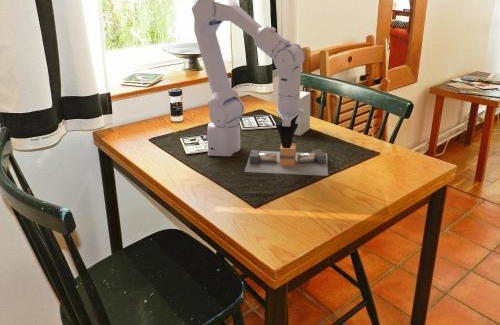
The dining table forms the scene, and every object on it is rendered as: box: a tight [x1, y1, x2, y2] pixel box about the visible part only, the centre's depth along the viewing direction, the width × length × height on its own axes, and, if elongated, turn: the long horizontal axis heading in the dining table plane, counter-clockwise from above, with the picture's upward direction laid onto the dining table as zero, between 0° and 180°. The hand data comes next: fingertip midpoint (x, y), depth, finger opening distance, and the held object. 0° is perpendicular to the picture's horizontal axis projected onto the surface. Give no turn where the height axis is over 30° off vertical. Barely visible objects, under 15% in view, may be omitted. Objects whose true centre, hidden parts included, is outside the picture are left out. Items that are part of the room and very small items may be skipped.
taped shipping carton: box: [279, 142, 297, 166], centre depth 124 cm, size 4×4×5 cm
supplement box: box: [280, 90, 312, 136], centre depth 147 cm, size 7×7×13 cm
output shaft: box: [297, 148, 326, 164], centre depth 125 cm, size 7×4×3 cm, turn 102°
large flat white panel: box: [243, 150, 329, 177], centre depth 125 cm, size 22×14×1 cm, turn 82°
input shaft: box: [249, 149, 277, 164], centre depth 125 cm, size 7×4×3 cm, turn 82°
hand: (287, 142), depth 122 cm, fingers open, 7 cm apart
